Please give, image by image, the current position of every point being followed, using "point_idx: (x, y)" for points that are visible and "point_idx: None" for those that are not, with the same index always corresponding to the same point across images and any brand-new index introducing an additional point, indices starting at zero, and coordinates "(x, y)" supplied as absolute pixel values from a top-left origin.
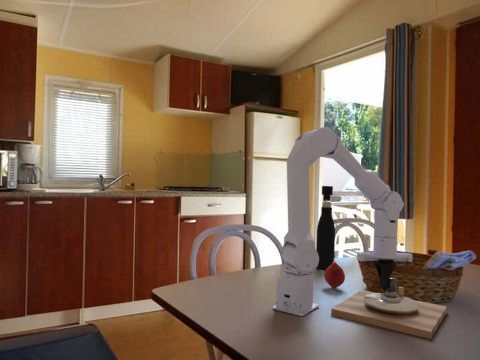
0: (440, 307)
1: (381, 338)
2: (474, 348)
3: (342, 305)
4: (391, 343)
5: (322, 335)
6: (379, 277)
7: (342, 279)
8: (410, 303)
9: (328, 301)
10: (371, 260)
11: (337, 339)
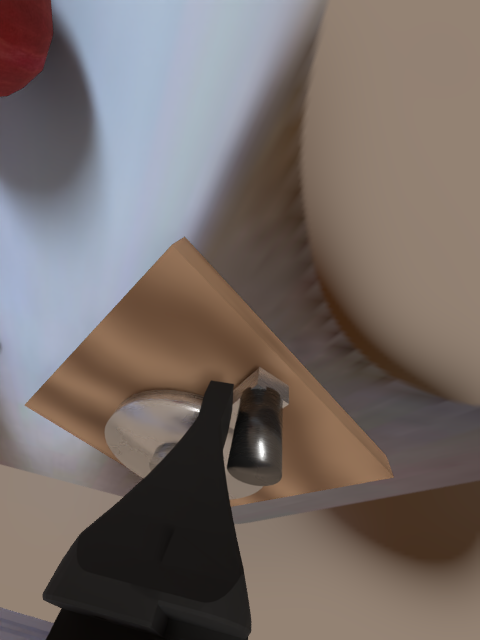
0: (358, 475)
1: (124, 474)
2: (250, 521)
3: (53, 395)
4: (133, 484)
5: (31, 445)
6: (193, 427)
7: (4, 80)
8: (230, 486)
9: (22, 294)
10: (8, 615)
11: (55, 458)
